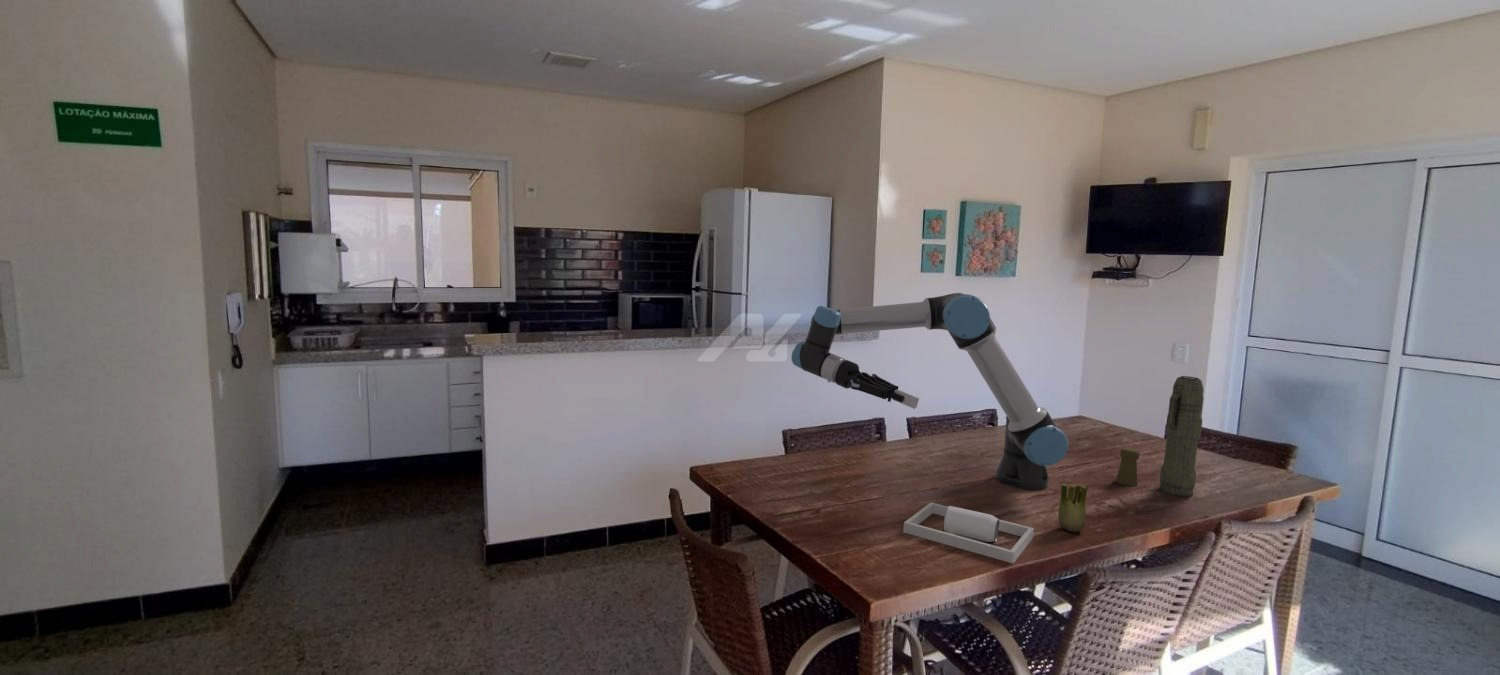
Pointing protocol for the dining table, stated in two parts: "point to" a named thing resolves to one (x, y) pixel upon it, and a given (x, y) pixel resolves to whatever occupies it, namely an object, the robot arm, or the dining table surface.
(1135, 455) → the olive tapered pillar
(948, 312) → the robot arm
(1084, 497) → the fennel bulb
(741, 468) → the dining table surface
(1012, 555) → the frame
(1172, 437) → the thermos
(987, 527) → the can
